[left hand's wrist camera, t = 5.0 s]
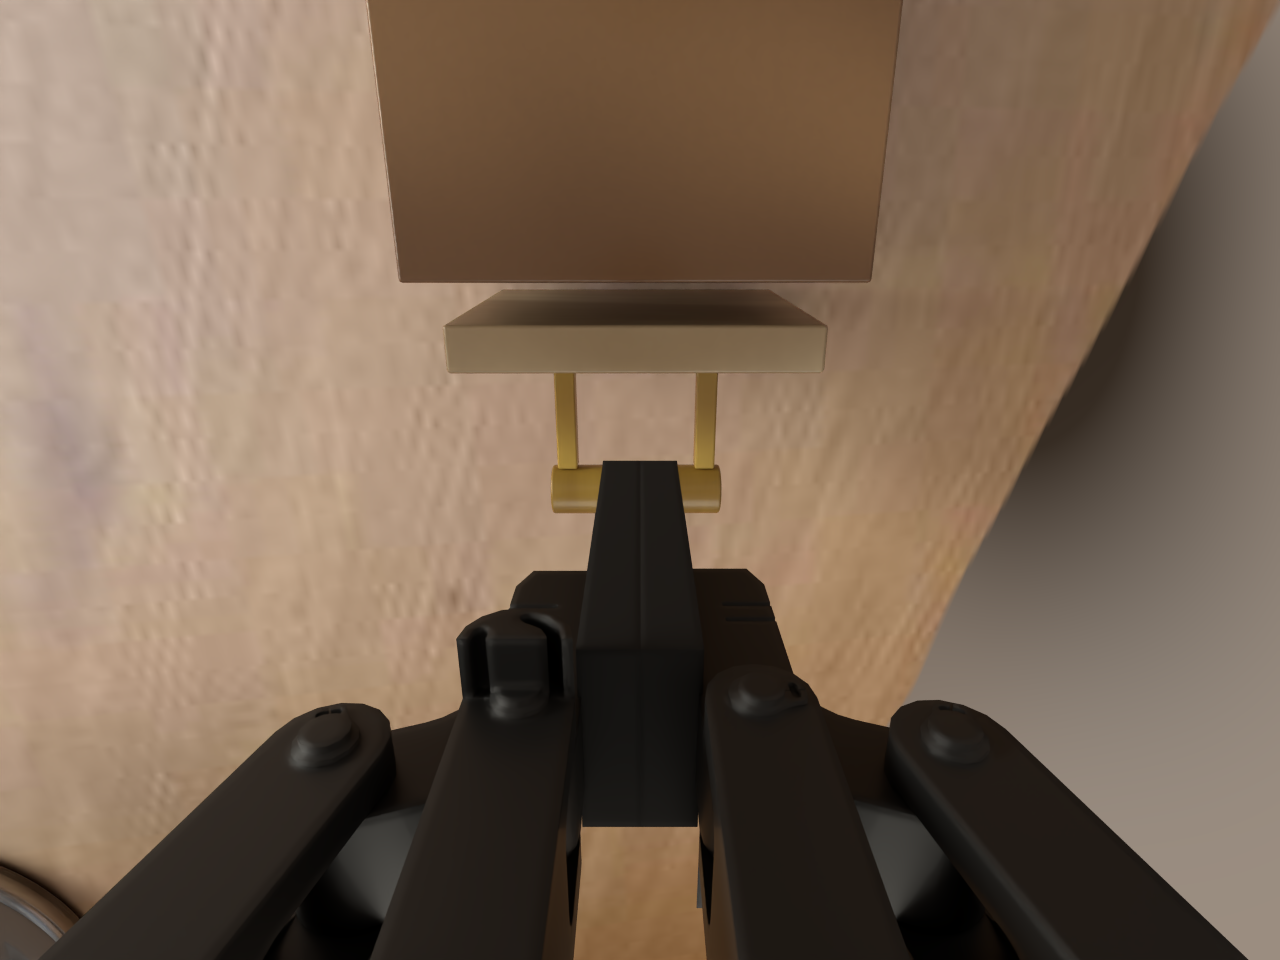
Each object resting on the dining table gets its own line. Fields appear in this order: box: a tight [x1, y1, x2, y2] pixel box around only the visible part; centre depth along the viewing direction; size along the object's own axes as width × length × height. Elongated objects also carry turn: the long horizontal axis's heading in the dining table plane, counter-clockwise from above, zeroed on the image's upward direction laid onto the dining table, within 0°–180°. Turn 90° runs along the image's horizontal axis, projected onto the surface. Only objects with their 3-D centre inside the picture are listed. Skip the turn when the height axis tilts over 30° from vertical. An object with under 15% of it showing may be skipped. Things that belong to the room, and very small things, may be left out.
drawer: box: [443, 290, 828, 513], centre depth 19 cm, size 21×9×8 cm, turn 0°
